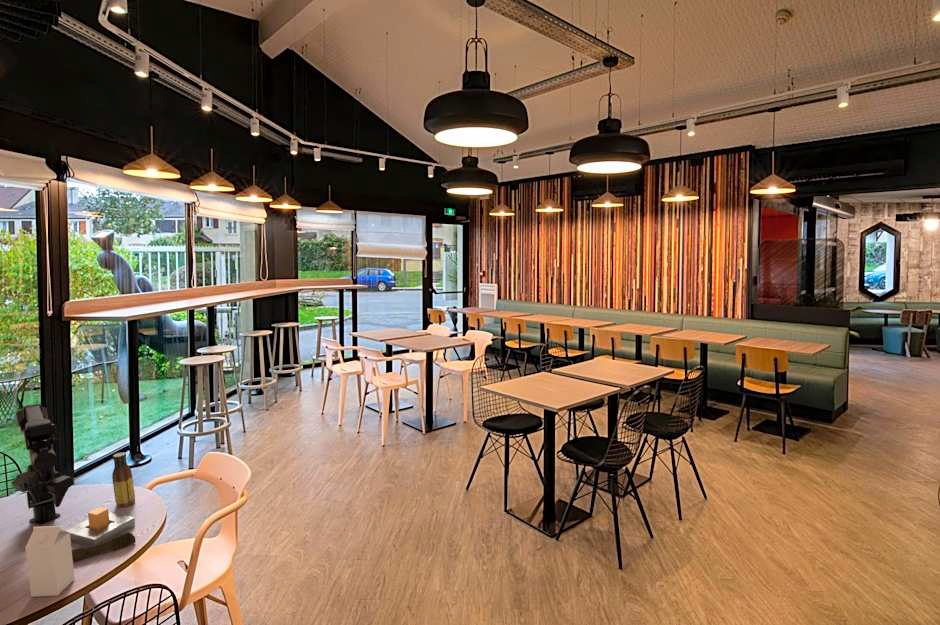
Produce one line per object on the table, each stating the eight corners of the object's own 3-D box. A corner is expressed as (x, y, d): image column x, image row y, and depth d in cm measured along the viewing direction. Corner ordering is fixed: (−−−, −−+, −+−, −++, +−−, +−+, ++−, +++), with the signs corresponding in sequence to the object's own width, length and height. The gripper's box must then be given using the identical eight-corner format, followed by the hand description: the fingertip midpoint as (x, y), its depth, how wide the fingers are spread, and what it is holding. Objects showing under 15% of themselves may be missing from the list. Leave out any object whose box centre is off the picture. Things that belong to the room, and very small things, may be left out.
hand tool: (62, 568, 158) (60, 554, 158) (63, 561, 161) (61, 547, 161) (135, 548, 169) (134, 534, 168) (135, 542, 172) (134, 529, 171)
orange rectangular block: (90, 534, 176) (87, 512, 174) (101, 528, 179) (99, 506, 178) (98, 536, 174) (96, 514, 173) (110, 530, 178) (108, 508, 177)
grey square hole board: (64, 539, 172) (63, 531, 172) (105, 518, 186) (104, 510, 185) (95, 547, 168) (94, 539, 168) (134, 525, 181) (134, 517, 181)
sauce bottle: (131, 498, 200) (126, 449, 198) (138, 502, 197) (134, 453, 194) (112, 504, 195) (107, 454, 192) (119, 510, 191) (114, 458, 189)
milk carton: (49, 580, 152) (42, 520, 149) (75, 579, 153) (68, 519, 150) (31, 597, 145) (23, 534, 142) (58, 596, 146) (51, 533, 143)
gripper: (-6, 466, 165) (-1, 512, 167) (36, 474, 159) (42, 522, 162) (32, 452, 175) (37, 495, 177) (73, 460, 170) (77, 504, 172)
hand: (47, 504), depth 172 cm, fingers open, 9 cm apart
